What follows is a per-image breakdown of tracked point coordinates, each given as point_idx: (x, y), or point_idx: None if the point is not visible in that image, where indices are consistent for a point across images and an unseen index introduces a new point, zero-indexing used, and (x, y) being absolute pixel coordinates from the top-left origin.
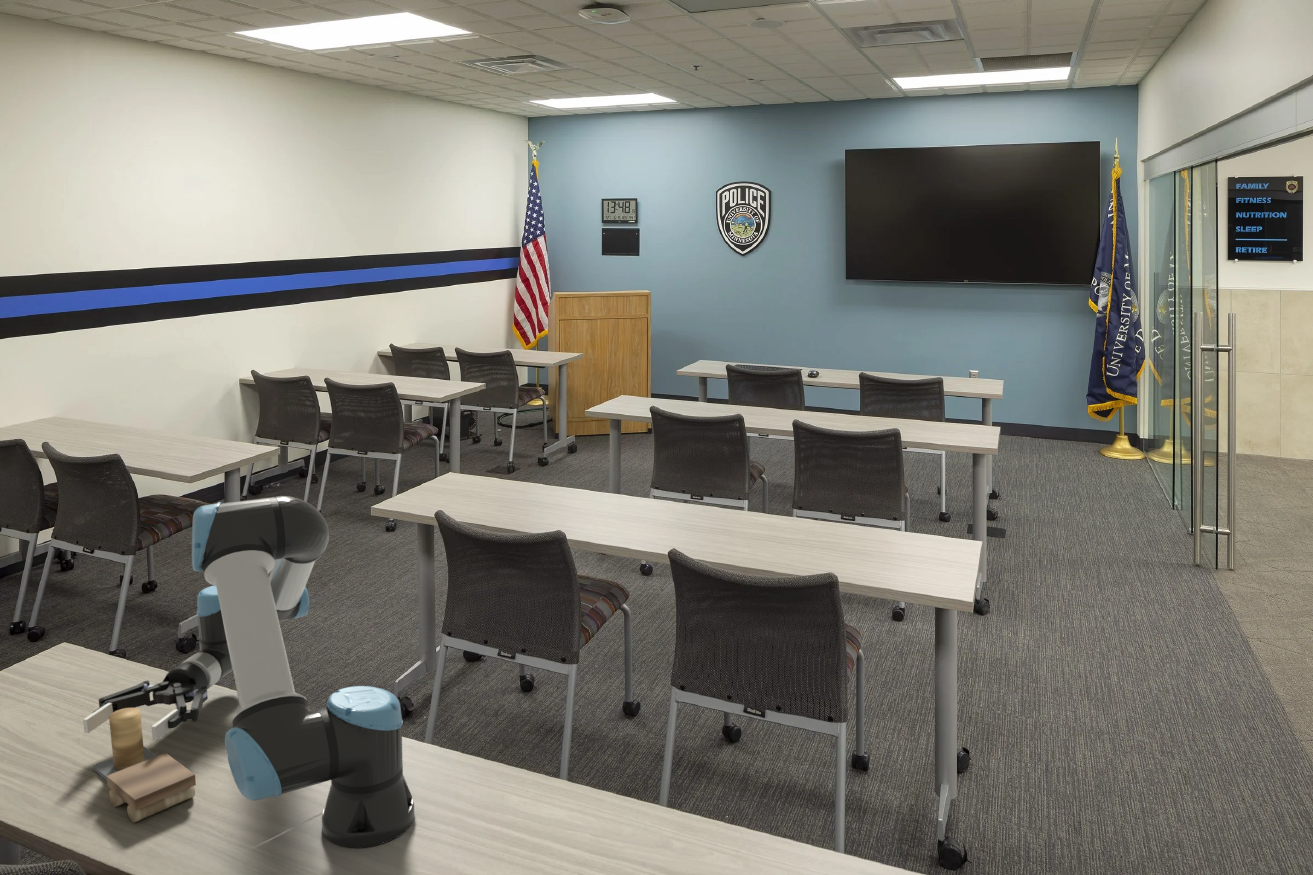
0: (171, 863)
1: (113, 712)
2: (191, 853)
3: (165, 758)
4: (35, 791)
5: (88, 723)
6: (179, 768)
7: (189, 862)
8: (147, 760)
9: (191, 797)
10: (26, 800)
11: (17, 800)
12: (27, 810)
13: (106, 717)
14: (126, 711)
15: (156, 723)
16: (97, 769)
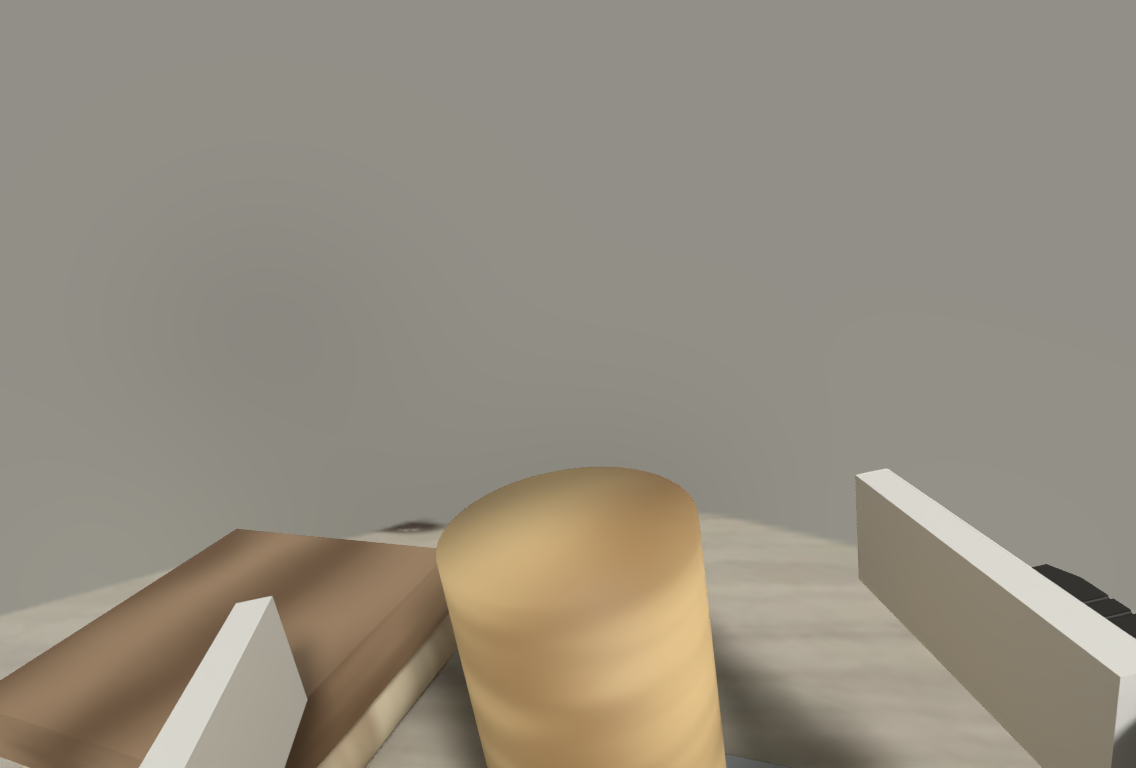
0: (101, 590)
1: (693, 506)
2: (40, 628)
3: None
4: (859, 599)
5: (864, 518)
6: (74, 705)
7: (43, 608)
8: (313, 683)
9: None
10: (812, 565)
11: (842, 555)
12: (735, 547)
13: (1015, 709)
14: (596, 548)
15: (246, 633)
16: (761, 763)
